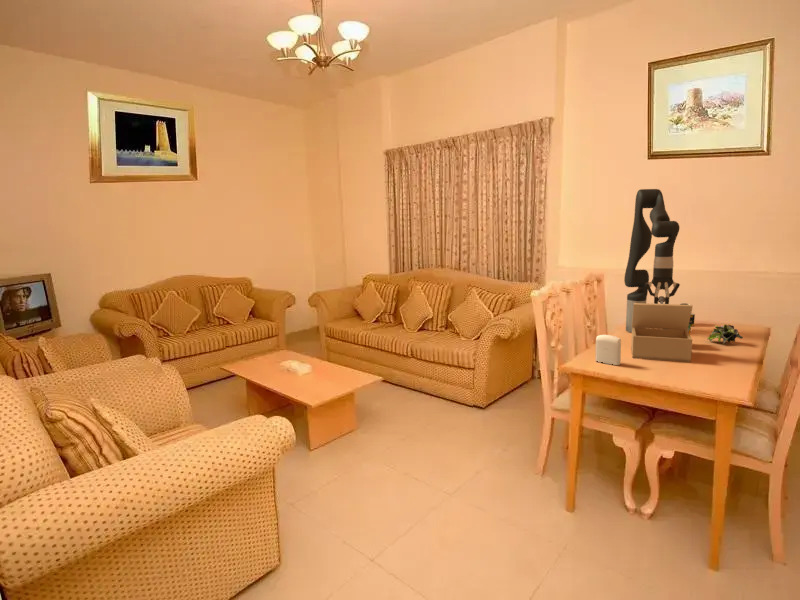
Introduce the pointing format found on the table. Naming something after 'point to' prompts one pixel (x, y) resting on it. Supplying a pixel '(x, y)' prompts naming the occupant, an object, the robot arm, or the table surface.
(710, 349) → the table surface
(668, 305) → the carton flap
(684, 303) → the medicine bottle
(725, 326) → the green leafy plant
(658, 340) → the carton
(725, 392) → the table surface
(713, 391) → the table surface
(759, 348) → the table surface
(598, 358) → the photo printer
